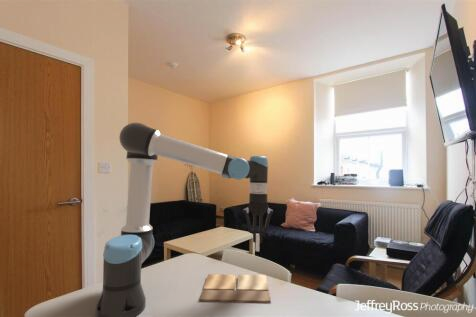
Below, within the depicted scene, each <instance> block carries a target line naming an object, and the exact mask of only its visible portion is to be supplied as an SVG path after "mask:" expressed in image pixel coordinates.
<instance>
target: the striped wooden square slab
mask: <svg viewBox="0 0 476 317" xmlns="http://www.w3.org/2000/svg"><path fill="white" fill-rule="evenodd" d="M236 280H237V276H236V274H217V273H216V274H215V273H214V274H213V273H211V274H210V273H208V274H207V277H206V279H205V283H204V285H203V288H202V291H203V290H236V289H235V288H236Z"/></svg>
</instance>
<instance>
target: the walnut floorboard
mask: <svg viewBox="0 0 476 317" xmlns="http://www.w3.org/2000/svg"><path fill="white" fill-rule="evenodd" d="M199 302H202V303H203V302H208V303H209V302H210V303H212V302H213V303H247V304H248V303H250V304H251V303H253V304H254V303H255V304H257V303H258V304H271V303H272V302H271V296H270V290H269V291H239V290H237V289H235V290H203V289H202V292H201V294H200V297H199Z"/></svg>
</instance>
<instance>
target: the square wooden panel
mask: <svg viewBox="0 0 476 317" xmlns="http://www.w3.org/2000/svg"><path fill="white" fill-rule="evenodd" d="M236 290H239V291H269V292H270V290H269V284H268V278H267V275H266V274H237V285H236Z"/></svg>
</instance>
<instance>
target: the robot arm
mask: <svg viewBox="0 0 476 317" xmlns="http://www.w3.org/2000/svg"><path fill="white" fill-rule="evenodd" d="M119 133H120V134H119V142H120V145H121V146H122V148H123V149H124V150H125V151H126V160H127V162H129V178H128V191H127V192H128V193H127V203H126V204H127V205H126V216H125V217H126V218H125V219H126V220H125V225H123V227H121V229H120V235H118V236H116V237H112V238H111V239H109V240H108V241H107V242H106V243H105V245H104V246H103V247H104V250H103V255H102V257H103V264H102V265H103V268H102V269H103V270H102V272H103V273H102V290H101V292H100V296H99V299H98V302H97V304H96V306H95V307H96V308H95V317H137V316H138V315H140V314H141V313H142V312H143V311H144V310H145V308H146V299H147V298H146V296H145V293H144V289H143V286H142V282H141V281H142V264H143V263H144V262H145V261H146V259H148V258H149V257H150V255H151V254H152V252H153V250H154V247H155V238H154V235H153V231H154V230H153V226H152V225H151V224H150V214H151V213H150V212H151V199H152V187H153V186H152V183H153V170H154V164H156V162H157V161H158V156H159V157H162V158H166V159H169V160H172V161H175V162H180V163H182V164H186V165H189V166H192V167H196V168H198V169H201V170H202V169H203V170H205V171H209V172H213V173H217V174H219V175H221V177H222V178H223V179H224V178H225V179H234V180H238V181H239V180H243V179H249V194H248V195H249V196H248V198H249V199H248V200H249V203H248V205H247V207H246V208H243V210H242V212H243V214H244V215H245V220H246V224H247V225H246V226H247V229H248V233H250V234H252V242H253V243H255V252H260V243H261V244H262V243H263V235H265V234H267V233H268V229H269V226H270V221H271V218H272V216H273V214H274V210H273V209H271V208H269V205H268V194H267V193H268V175H269V174H268V172H269V166H268V165H269V164H268V163H269V162H268V157H267V156H264V155H263V156H262V155H252V156H250V157H249V160H246V159H245V158H242V157H236V156H232V155H229V154H226V153H223V152H220V151H217V150H214V149H210V148H206V147H204V146H200V145H198V144H193V143H191V142H188V141H184V140H180V139H177V138H175V137H171V136H168V135H166V134H162V133H161V131H160V130H158V129H155V128H152V127H149V126H147V125H145V124H143V123H141V122H131V123H130V122H129V123H128V124H127V125H124V126H123V127H122V129H121V130H120V132H119ZM249 212H250V213H251V214H252V216H253V218H252V219H253V221H252V225H253V227H252V225H251V221H250V217H249ZM265 213H267V215H266V218H265V224H264V223H263V222H264V221H263V220H264V219H263V218H264V217H263V216H264V215H265ZM257 216H258V217H259V222H258V223H259V224H258V225H259V228H258V232H259V233H257ZM263 224H264V228H263Z"/></svg>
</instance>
